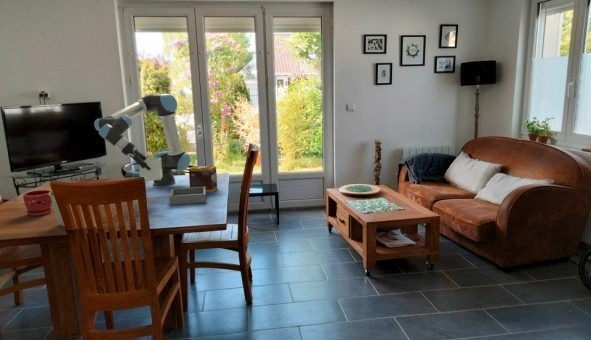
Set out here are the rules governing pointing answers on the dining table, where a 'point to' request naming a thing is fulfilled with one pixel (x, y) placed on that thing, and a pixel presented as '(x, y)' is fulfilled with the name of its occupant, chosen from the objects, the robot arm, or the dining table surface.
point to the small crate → (156, 165)
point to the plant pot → (38, 202)
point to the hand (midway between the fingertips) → (156, 171)
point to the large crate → (187, 196)
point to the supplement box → (203, 177)
